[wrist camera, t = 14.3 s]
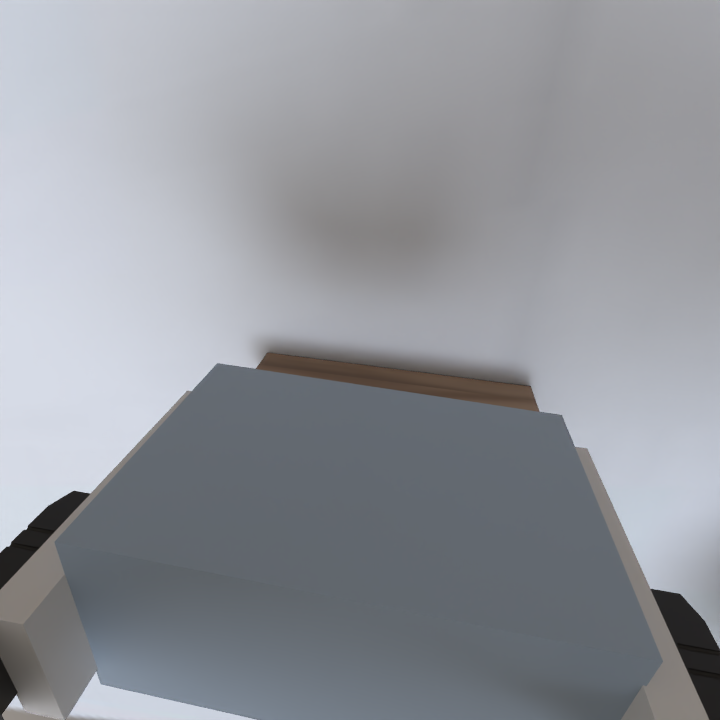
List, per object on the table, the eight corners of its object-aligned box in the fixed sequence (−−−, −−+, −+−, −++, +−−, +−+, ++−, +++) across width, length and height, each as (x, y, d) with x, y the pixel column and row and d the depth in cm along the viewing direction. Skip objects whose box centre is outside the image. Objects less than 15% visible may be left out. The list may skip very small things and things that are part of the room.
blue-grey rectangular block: (225, 476, 14) (100, 684, 9) (217, 363, 12) (54, 542, 7) (522, 528, 13) (575, 792, 8) (561, 415, 12) (663, 661, 6)
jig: (267, 352, 27) (238, 392, 23) (530, 386, 26) (547, 435, 22) (275, 611, 38) (257, 667, 34) (459, 645, 37) (461, 708, 33)
